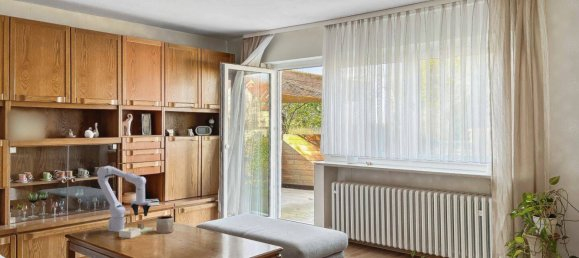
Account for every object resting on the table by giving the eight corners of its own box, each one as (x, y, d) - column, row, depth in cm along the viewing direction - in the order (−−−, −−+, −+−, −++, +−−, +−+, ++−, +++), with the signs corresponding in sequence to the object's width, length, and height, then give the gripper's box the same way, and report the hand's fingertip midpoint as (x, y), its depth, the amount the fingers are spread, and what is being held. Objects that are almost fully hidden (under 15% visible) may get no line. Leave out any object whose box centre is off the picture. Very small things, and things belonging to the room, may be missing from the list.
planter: (170, 234, 287) (170, 219, 287) (154, 234, 287) (153, 219, 287) (175, 230, 298) (175, 215, 298) (159, 230, 298) (159, 215, 298)
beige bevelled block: (119, 237, 278) (119, 230, 278) (129, 234, 286) (129, 227, 286) (130, 239, 274) (130, 231, 274) (140, 235, 283) (140, 228, 283)
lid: (128, 231, 292) (128, 224, 292) (139, 227, 303) (139, 220, 303) (142, 232, 288) (142, 225, 288) (153, 229, 299) (152, 221, 299)
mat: (127, 232, 292) (127, 231, 292) (139, 228, 303) (139, 227, 303) (142, 233, 288) (142, 233, 288) (154, 229, 299) (154, 228, 299)
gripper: (153, 194, 296) (153, 215, 296) (136, 193, 302) (136, 213, 302) (146, 196, 290) (146, 217, 290) (128, 195, 295) (128, 215, 295)
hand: (140, 215), depth 295 cm, fingers open, 7 cm apart
